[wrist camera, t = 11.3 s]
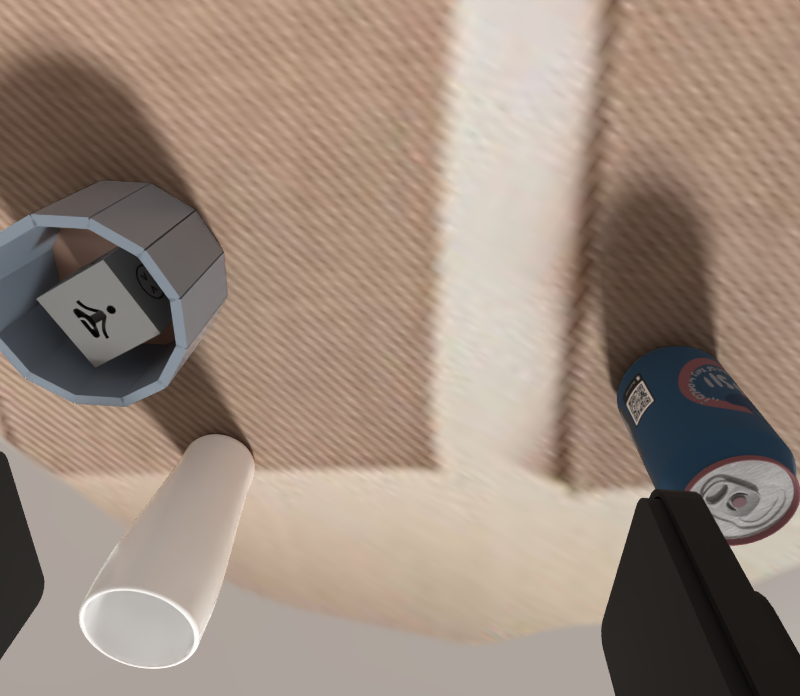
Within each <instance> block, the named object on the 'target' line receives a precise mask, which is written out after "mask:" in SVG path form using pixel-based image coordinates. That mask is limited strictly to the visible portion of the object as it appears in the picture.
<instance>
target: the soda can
mask: <svg viewBox="0 0 800 696" xmlns="http://www.w3.org/2000/svg"><path fill="white" fill-rule="evenodd" d="M617 404H618V409H619V412H620V414H621V416H622V418H623V421H624V423H625V425H626V427H627V429H628V431H629V433H630V436H631V438H632V440H633V442H634V444H635V446H636V448H637V450H638V453H639V455H640V457H641V459H642V461H643V463H644V465H645V468H646V470H647V472H648V474H649V476H650V478H651V480H652V483H653V485H654V487H655V489H668V490H681V491H695V492H697V493H699V494H700V495H701V496H702V498H703V499H704V501H705V503H706V504H707V506H708V508H709V510H710V512H711V514H712V515H713V517H714V519H715V521H716V523H717V524H718V526H719V528H720V530H721V532H722V533H723V535H724V537H725V539H726V541H727V542H728V544H729V546H735V545H744V544H749V543H753V542H756V541H759V540H762V539H764V538H766V537H768V536H770V535H772V534H774V533H775V532H777V531H778V530H780V529H781V528H782V527H783V526H784V525H786V524H787V523H788V522H789V520H790V519H791V518H792V517H793V515H794V514H795V512H796V510H797V508H798V506H799V502H800V486H799V483H798V480H797V478H796V464H795V459H794V457H793V454H792V452H791V451H790V449H789V448H788V447H787V445H786V444H785V443H784V442H783V440H782V439H781V438H780V437H779V435H778V434H777V433H776V432H775V431H774V429H773V428H772V427H771V426H770V424H769V423H768V422H767V421H766V420H765V418H764V417H763V416H762V415H761V413H760V412H759V411H758V410H757V409H756V407H755V406H754V405H753V404H752V402H751V401H750V400H749V399H748V397H747V396H746V395H745V394H744V393H743V391H742V390H741V389H740V388H739V386H738V385H737V384H736V383H735V382H734V380H733V379H732V378H731V377H730V375H729V374H728V373H727V372H726V371H725V369H724V368H723V367H722V366H721V364H720V363H719V362H718V361H717V360H716V359H715V358H714V357H713V356H711V355H710V354H708V353H706V352H704V351H702V350H699V349H696V348H692V347H685V346H671V347H663V348H659V349H655V350H652V351H650V352H648V353H646V354H644V355H643V356H641V357H640V358H638V359H637V360H636V361H635V362H634V363H633V364H632V365H631V366H630V368H629V369H628V370H627V372H626V373H625V375H624V376H623V378H622V380H621V383H620V385H619V388H618V394H617Z"/></svg>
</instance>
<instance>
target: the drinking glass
mask: <svg viewBox="0 0 800 696" xmlns="http://www.w3.org/2000/svg"><path fill="white" fill-rule="evenodd" d="M254 473H255V463H254V459H253V456H252V454H251V453H250V451H249V450H248V449H247V447H246V446H245V445H243V444H242V443H241V442H239V441H238V440H236V439H234V438H232V437H229V436H226V435H221V434H210V435H205V436H202V437H200V438H198V439H196V440H194V441H193V442H192V443H191V444H190V445H189V446H188V447H187V449H186V451H185V452H184V454H183V456H182V457H181V459H180V461H179V462H178V463H177V465H176V466H175V468H174V469H173V470H172V472H171V473H170V474H169V476H168V477H167V478H166V480H165V481H164V482H163V484H162V485H161V486H160V488H159V489H158V490H157V492H156V493H155V494H154V496H153V497H152V498H151V500H150V501H149V502H148V504H147V505H146V506H145V508H144V509H143V510H142V511H141V513H140V514H139V515H138V517H137V518H136V519H135V521H134V522H133V523H132V525H131V526H130V527H129V529H128V530H127V531H126V533H125V534H124V535H123V537H122V538H121V539H120V541H119V542H118V544H117V545H116V547H115V548H114V549H113V551H112V553H111V554H110V556H109V557H108V559H107V560H106V562H105V563H104V565H103V567H102V569H101V570H100V572H99V574H98V575H97V577H96V579H95V581H94V583H93V584H92V586H91V588H90V590H89V592H88V593H87V595H86V597H85V599H84V601H83V603H82V604H81V607H80V610H79V623H80V627H81V630H82V631H83V633H84V635H85V636H86V638H87V639H88V641H89V642H90V643H91V644H92V645H93V646H94V647H95V648H97V649H98V650H99V651H100V652H102V653H103V654H105V655H106V656H108V657H110V658H112V659H114V660H116V661H118V662H121V663H124V664H127V665H130V666H135V667H140V668H150V669H157V668H165V667H171V666H174V665H177V664H180V663H181V662H183V661H185V660H187V659H188V658H189V657H190V656H191V655H192V654H193V653H194V651H195V650H196V649H197V647H198V644H199V642H200V640H201V637H202V635H203V633H204V631H205V629H206V626H207V624H208V622H209V619H210V617H211V615H212V612H213V609H214V606H215V604H216V601H217V599H218V596H219V593H220V590H221V587H222V584H223V580H224V577H225V573H226V570H227V566H228V562H229V559H230V555H231V551H232V548H233V544H234V540H235V536H236V533H237V529H238V525H239V522H240V518H241V514H242V511H243V507H244V504H245V500H246V497H247V493H248V490H249V487H250V485H251V482H252V480H253V477H254Z"/></svg>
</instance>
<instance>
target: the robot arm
mask: <svg viewBox="0 0 800 696" xmlns="http://www.w3.org/2000/svg"><path fill="white" fill-rule="evenodd" d="M43 590H44V576H43V573H42V570H41V567H40V563H39V560H38V557H37V554H36V550H35V547H34V544H33V541H32V537H31V534H30V531H29V528H28V524H27V521H26V518H25V515H24V512H23V508H22V505H21V502H20V499H19V495H18V492H17V489H16V485H15V482H14V479H13V476H12V472H11V469H10V466H9V463H8V459H7V457H6V455H5V454H4V453H3V452H0V659H1V658H2V656H3V655H4V653H5V652H6V650H7V649H8V647H9V646H10V645H11V643H12V642H13V640H14V639H15V637H16V636H17V634H18V633H19V631H20V630H21V628H22V627H23V625H24V624H25V622H26V621H27V620H28V618H29V617H30V615H31V613H32V612H33V611H34V609H35V608H36V606H37V605H38V603H39V601H40V599H41V597H42V594H43ZM601 632H602V635H601V637H602V645H603V650H604V653H605V658H606V662H607V665H608V669H609V673H610V676H611V680H612V684H613V688H614V692H615V696H800V654H799V652H798V651H797V649H796V647H795V645H794V644H793V642H792V640H791V638H790V637H789V635H788V633H787V631H786V630H785V628H784V626H783V624H782V622H781V621H780V619H779V617H778V616H777V614H776V612H775V610H774V608H773V607H772V606H771V604H770V603H769V602H768V600H767V599H766V598H765V597H764V596H763V595H761V594H760V593H759V592H757V591H754V590H753V588H752V586H751V584H750V582H749V580H748V579H747V577H746V575H745V573H744V571H743V570H742V568H741V566H740V564H739V562H738V561H737V559H736V557H735V555H734V553H733V552H732V550H731V548H730V546H729V544H728V542H727V541H726V539H725V537H724V535H723V533H722V532H721V530H720V528H719V526H718V524H717V523H716V521H715V519H714V517H713V515H712V514H711V512H710V510H709V508H708V506H707V504H706V503H705V501H704V499H703V498H702V496H701V495H700V494H699V493H697V492H695V491H681V490H668V489H655V490H654V491H653V492H652V493H651V495H650V498H641V499H640V500H639V501H638V503H637V506H636V509H635V513H634V516H633V520H632V523H631V526H630V530H629V533H628V536H627V540H626V543H625V547H624V550H623V553H622V557H621V560H620V564H619V567H618V570H617V574H616V577H615V580H614V584H613V587H612V591H611V594H610V597H609V601H608V604H607V607H606V611H605V614H604V618H603V621H602V629H601Z"/></svg>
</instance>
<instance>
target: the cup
mask: <svg viewBox="0 0 800 696" xmlns="http://www.w3.org/2000/svg"><path fill="white" fill-rule="evenodd" d="M194 211H195V209H193V208H192V207H190V206H188V205H187V204H185V203H183V202H182V201H180V200H178V199H177V198H175V197H173V196H172V195H170V194H168V193H167V192H165V191H163V190H162V189H160V188H158V187H156V186H155V185H153V184H150V183H143V182H125V181H107V180H102V181H99V182H97V183H95V184H93V185H90V186H88V187H86V188H84V189H82V190H80V191H78V192H76V193H74V194H71V195H69V196H67V197H65V198H63V199H61V200H59V201H57V202H55V203H52V204H50V205H48V206H46V207H44V208H42V209H40V210H38V211H36V212H33V213H31V214H29V215H28V216H26V217H24V218H23V219H21V220H19V221H18V222H16V223H14V224H13V225H11V226H9V227H8V228H6V229H4V230H3V231H1V232H0V351H1V353H2V354H3V355H4V356H5V357H6V358H7V359H8V360H9V362H10V363H11V364H12V365H13V366H14V367H15V368H16V369H17V370H18V372H19V373H20V374H21V375H22V376H23V377H24V378H25V377H26V379H27V380H29V381H31V382H33V383H35V384H37V385H39V386H41V387H43V388H45V389H47V390H49V391H51V392H53V393H55V394H57V395H59V396H61V397H63V398H65V399H67V400H68V401H70V402H72V403H76V404H88V405H103V406H119V407H125V406H126V407H127V406H129V405H131V404H133V403H135V402H137V401H139V400H141V399H144V398H146V397H148V396H150V395H152V394H154V393H156V392H158V391H161V390H163V389H165V388H166V387H167V386H168V385H169V383H170V382H171V381H172V379H173V378H174V377H175V375H176V374H177V373H178V371H179V370H180V369H181V367H182V366H183V365H184V363H185V362H186V360H187V359H188V358H189V356H190V355H191V354H192V352H193V351H194V350H195V348H196V347H197V346H198V344H199V343H200V341H201V340H202V339H203V337H204V336H205V335H206V333H207V332H208V331H209V329H210V327H211V326H212V324H213V322H214V320H215V318H216V316H217V315H218V313H219V311H220V309H221V307H222V306H223V304H224V302H225V300H226V298H227V295H228V292H227V281H226V270H225V259H224V253H222V252H223V250H222V248H221V247H220V245H219V244H218V242H217V241H216V239H215V238H214V236H213V235H212V233H211V232H210V230H209V229H208V227H207V226H206V224H205V223H204V221H203V220H202V218H201V217H200V215H199V214H198V212H197V211H195V212H194ZM117 246H119V247H121V248H123V249H125V250H126V251H128V252H130V253H132V254H133V255H135V256H137V257H138V258H139V259H140V260H141V262H142V263H143V265H144V266H145V267H146V269H147V270H148V271H149V273H150V274H151V276H152V277H153V278H154V280H155V281H156V282H157V284H158V285H159V286H160V288H161V289H162V291H163V292H164V293H165V295H166V296H167V297H168V299H169V300H170V305H171V312H172V319H173V320H172V321H171V322H170V324H169V325H168V326H167V327H166V328H165V329H164V330H163V331H162V333H161V334H159V335H157V336H155V337H153V338H151V339H149V340H147V341H145V342H144V343H142V344H140V345H138V346H136V347H134V348H132V349H130V350H128V351H126V352H124V353H123V354H121V355H119V356H117V357H115V358H113V359H111V360H109V361H107V362H105V363H103V364H102V365H100V366H98V367H96V368H95V367H94V366H93V365H92V364H91V362H90V361H89V360H88V359H87V358H86V356H85V355H84V354H83V353H82V352H81V351H80V349H79V348H78V347H77V346H76V345H75V344H74V342H73V341H72V340H71V339H70V338H69V337H68V335H67V334H66V333H65V332H64V331H63V330H62V328H61V327H60V326H59V325H58V324H57V322H56V321H55V320H54V319H53V318H52V317H51V315H50V314H49V313H48V312H47V311H46V310H45V308H44V307H43V306H42V305H41V304H40V303H39V301H38V300H37V298H38V297H39V296H41V295H42V294H44V293H45V292H47V291H48V290H50V289H51V288H52V287H54V286H55V285H57V284H58V283H60V282H61V281H63V280H64V279H65V278H67V277H68V276H70V275H71V274H73V273H74V272H76V271H77V270H78V269H80V268H81V267H83V266H85V265H87V264H88V263H90V262H92V261H93V260H95V259H97V258H99V257H100V256H102V255H104V254H105V253H107V252H109V251H111V250H112V249H114V248H116V247H117Z"/></svg>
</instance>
